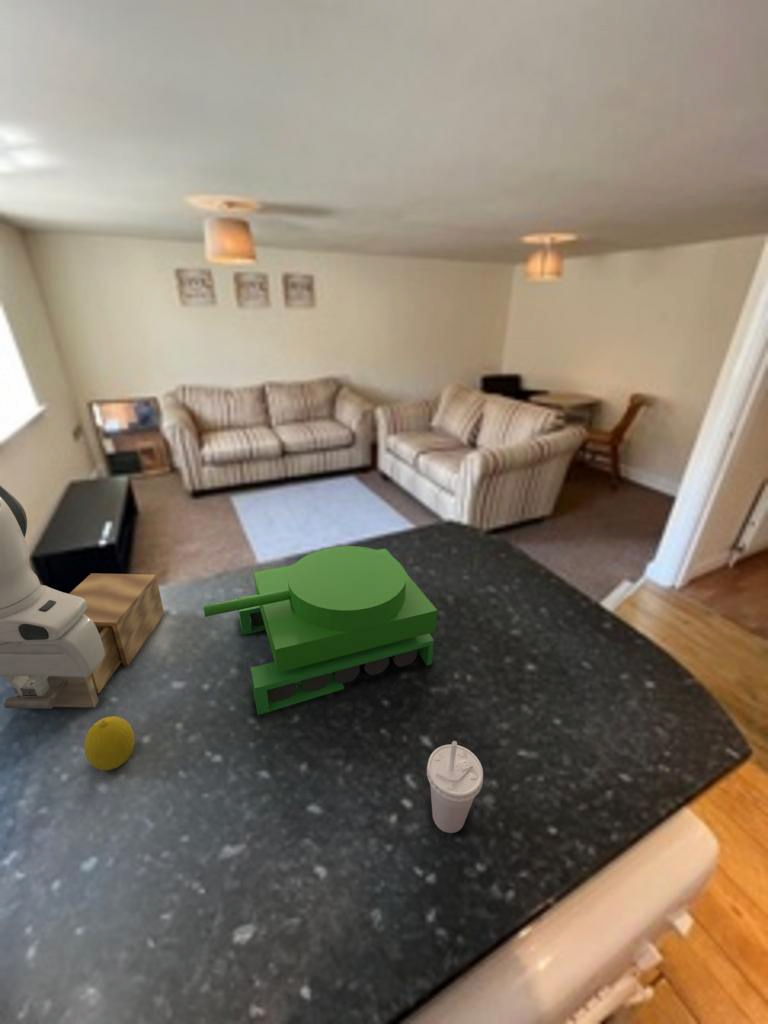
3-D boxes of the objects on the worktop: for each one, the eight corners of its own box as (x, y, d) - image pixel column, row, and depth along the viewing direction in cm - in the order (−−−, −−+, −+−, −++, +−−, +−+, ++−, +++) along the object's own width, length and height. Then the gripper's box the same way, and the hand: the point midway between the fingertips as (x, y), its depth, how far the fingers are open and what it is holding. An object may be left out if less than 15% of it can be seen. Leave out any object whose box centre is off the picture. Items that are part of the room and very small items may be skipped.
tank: (211, 629, 86) (199, 556, 79) (379, 593, 98) (382, 527, 92) (221, 732, 65) (206, 644, 59) (432, 669, 78) (440, 591, 71)
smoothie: (414, 803, 57) (421, 725, 51) (459, 789, 59) (471, 712, 53) (434, 857, 51) (444, 776, 46) (483, 840, 53) (500, 760, 47)
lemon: (112, 790, 57) (97, 747, 54) (83, 772, 59) (67, 730, 56) (149, 755, 62) (137, 713, 58) (121, 739, 64) (108, 698, 60)
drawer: (76, 733, 63) (60, 690, 60) (-2, 732, 63) (-23, 689, 60) (137, 648, 79) (127, 610, 76) (75, 647, 79) (62, 608, 76)
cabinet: (129, 670, 76) (116, 622, 72) (56, 669, 76) (39, 621, 71) (165, 617, 89) (156, 574, 84) (103, 616, 88) (91, 573, 84)
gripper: (-104, 627, 54) (-60, 710, 60) (68, 629, 54) (95, 712, 60) (-58, 596, 60) (-22, 675, 65) (97, 599, 60) (120, 677, 66)
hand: (35, 693), depth 63 cm, fingers closed, pressing on drawer
